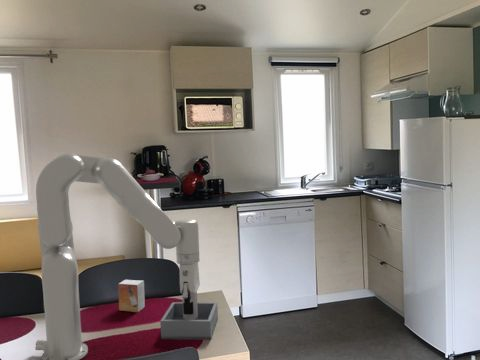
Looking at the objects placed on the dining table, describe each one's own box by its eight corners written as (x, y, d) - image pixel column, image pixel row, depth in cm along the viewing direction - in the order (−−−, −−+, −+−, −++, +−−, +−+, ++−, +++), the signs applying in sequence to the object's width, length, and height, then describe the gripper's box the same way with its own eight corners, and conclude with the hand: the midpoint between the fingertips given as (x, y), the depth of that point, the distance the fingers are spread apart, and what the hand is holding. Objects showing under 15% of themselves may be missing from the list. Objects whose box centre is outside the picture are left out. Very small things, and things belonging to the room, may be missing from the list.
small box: (119, 311, 159) (117, 283, 158) (126, 305, 165) (125, 279, 164) (138, 312, 157) (137, 284, 156) (145, 306, 163) (144, 280, 162)
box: (161, 339, 135) (160, 320, 134) (173, 318, 151) (172, 302, 150) (211, 339, 133) (210, 321, 133) (217, 318, 149) (217, 302, 149)
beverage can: (195, 321, 139) (193, 286, 138) (181, 321, 140) (179, 285, 139) (199, 316, 143) (198, 281, 142) (186, 315, 144) (184, 280, 143)
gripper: (194, 264, 131) (196, 321, 133) (203, 250, 148) (205, 301, 150) (170, 264, 132) (173, 321, 133) (182, 250, 149) (184, 301, 150)
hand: (190, 310), depth 141 cm, fingers closed on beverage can, 4 cm apart
